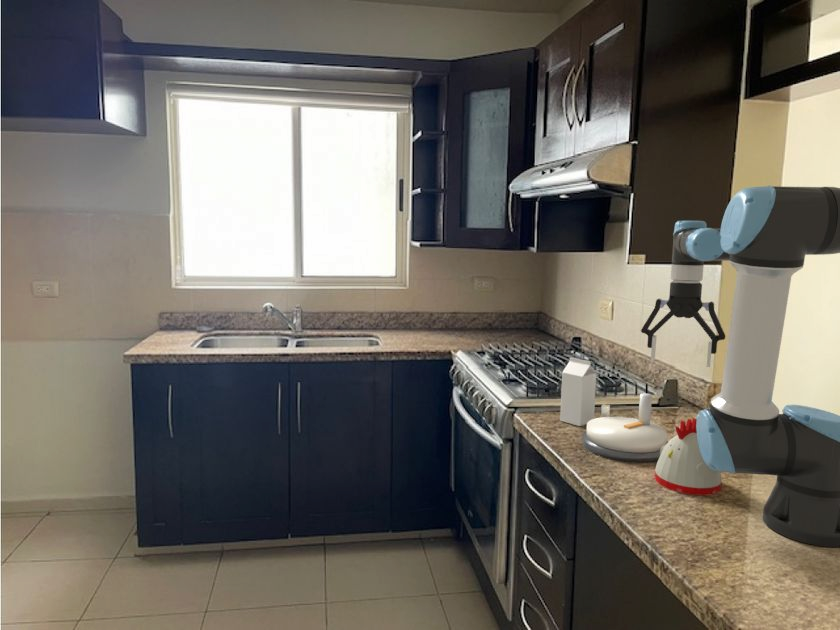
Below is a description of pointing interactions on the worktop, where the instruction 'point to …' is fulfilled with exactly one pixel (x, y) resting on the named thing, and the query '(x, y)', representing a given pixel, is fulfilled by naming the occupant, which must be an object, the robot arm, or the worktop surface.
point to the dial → (628, 431)
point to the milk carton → (578, 392)
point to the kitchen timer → (686, 464)
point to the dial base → (618, 454)
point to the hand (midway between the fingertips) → (680, 363)
